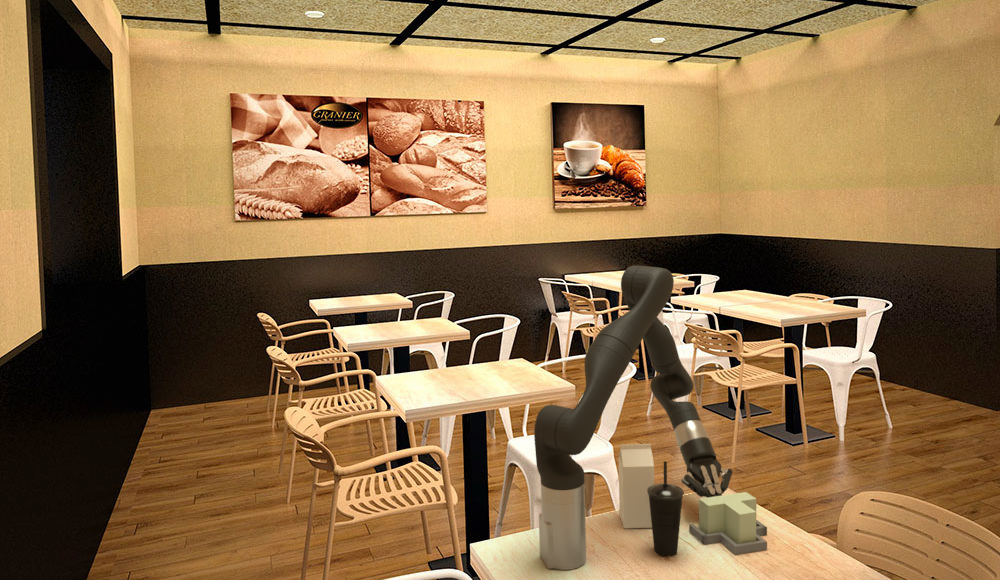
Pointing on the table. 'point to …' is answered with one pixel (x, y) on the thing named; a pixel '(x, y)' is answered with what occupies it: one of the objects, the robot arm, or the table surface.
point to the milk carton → (635, 485)
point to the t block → (729, 516)
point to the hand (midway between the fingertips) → (720, 511)
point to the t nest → (730, 544)
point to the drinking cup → (665, 516)
